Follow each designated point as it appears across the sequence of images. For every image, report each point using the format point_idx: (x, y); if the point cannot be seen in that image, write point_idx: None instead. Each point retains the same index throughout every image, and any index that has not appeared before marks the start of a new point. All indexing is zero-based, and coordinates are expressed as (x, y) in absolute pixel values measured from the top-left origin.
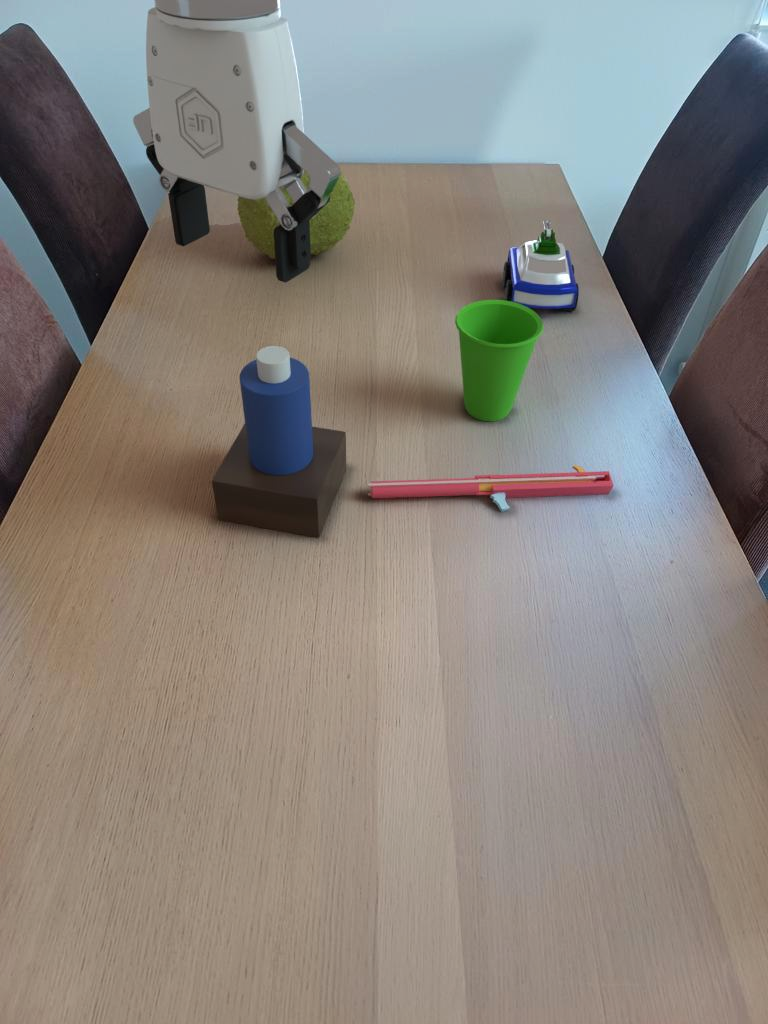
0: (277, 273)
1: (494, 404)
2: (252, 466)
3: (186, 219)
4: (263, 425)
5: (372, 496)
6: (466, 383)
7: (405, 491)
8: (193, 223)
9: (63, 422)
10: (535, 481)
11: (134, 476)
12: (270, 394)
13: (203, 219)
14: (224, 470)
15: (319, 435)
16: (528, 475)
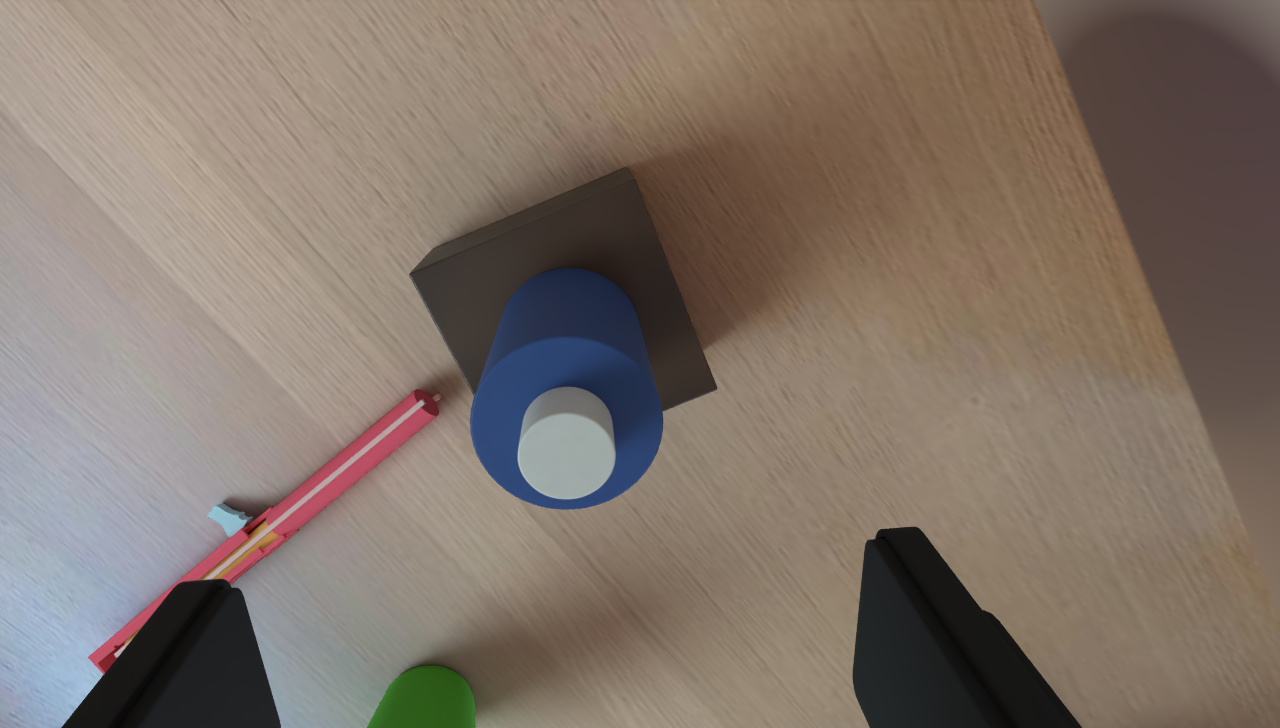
0: (195, 599)
1: (384, 704)
2: (593, 269)
3: (917, 662)
4: (539, 308)
5: (415, 390)
6: (439, 716)
7: (366, 433)
8: (896, 670)
9: (1106, 191)
10: None
11: (860, 158)
12: (509, 355)
13: (885, 726)
14: (634, 221)
15: None
16: None
